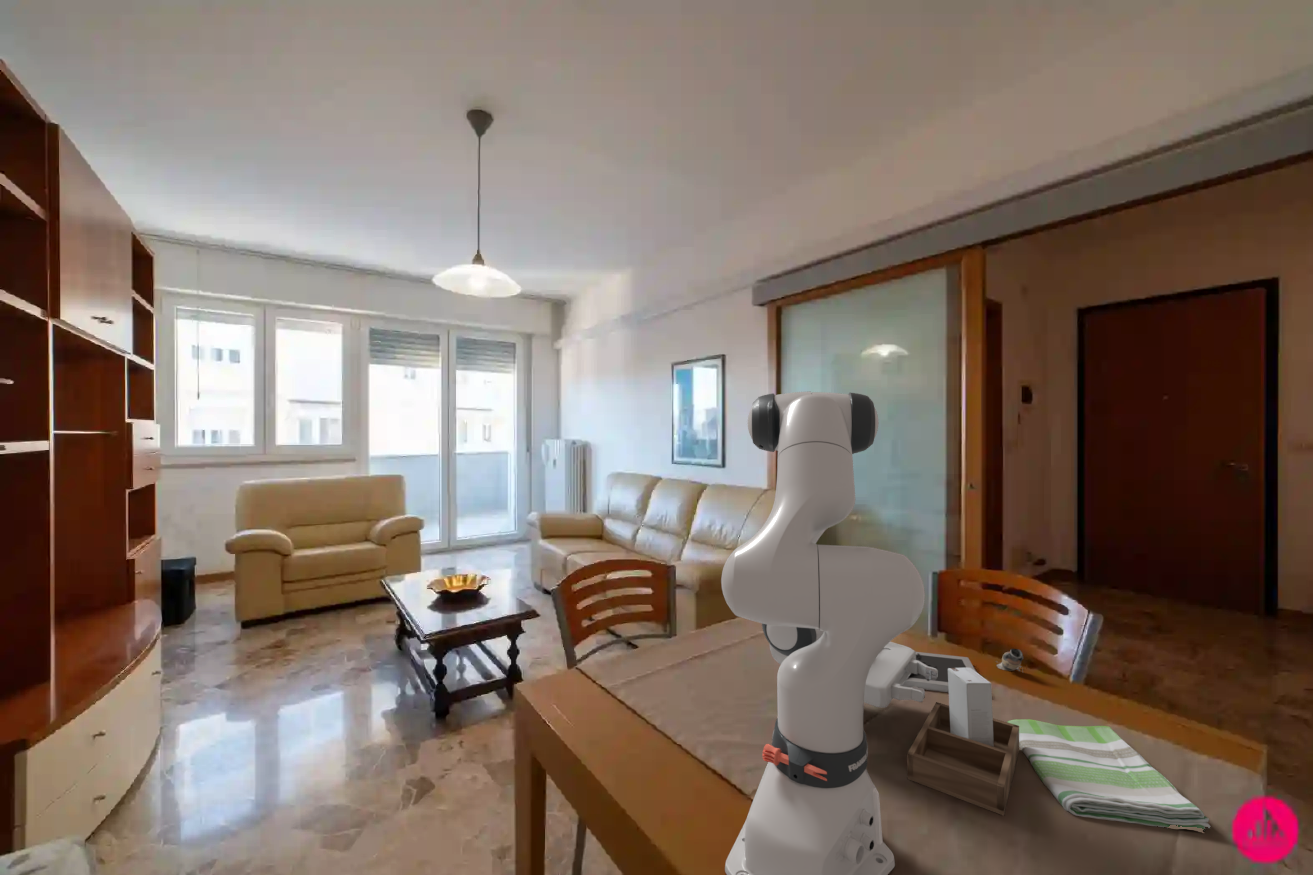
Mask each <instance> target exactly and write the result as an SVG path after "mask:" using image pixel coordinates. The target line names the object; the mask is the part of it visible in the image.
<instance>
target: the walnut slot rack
mask: <svg viewBox="0 0 1313 875" xmlns="http://www.w3.org/2000/svg"><path fill="white" fill-rule="evenodd" d="M993 739H994V747H993V746H990V745H987V744H984V743H980V742H977V741H974V740H971V739H968V738H965V737H961V736H958V735H955V734H952V733H950V711H949V704H945V703H941V702H938V701H936V702H935V703H934V705H933V707H932V709H931V710H930V713H929V714H928V716H927V718H926V720H925V721H924V722H923V725H922V727H921V729H920V730H919V732H918V733H917V735H916V737H915V739H914V740H913V742H912V744H911V746H910V748H909V749H908V751H907V753H906V756H907V757H906V759H907V760H906V764H907V770H906V771H907V774H906V776H907V777H906V778H907V780H909V781H912V782H914V783H918V784H919V785H922V786H925V787H928V788H930V789H933V790H935V791H938V792H940V793H943V794H946V795H948V796H950V797H953V798H956V799H959V800H962V801H964V802H967V803H970V804H972V805H975V806H977V807H980V808H982V809H985V810H988V811H991V812H992V813H995V814H997V815H1000V816H1005V813H1006V807H1007V804H1008V800H1009V795H1010V791H1011V786H1012V782H1013V778H1014V774H1015V769H1016V766H1017V761H1018V757H1019V754H1020V753H1019V752H1020V746H1019V726H1018V725H1015V724H1011V723H1008V722H1007V721H1004V720H1000V719H996V718H993Z"/></svg>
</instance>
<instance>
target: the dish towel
mask: <svg viewBox="0 0 1313 875" xmlns="http://www.w3.org/2000/svg"><path fill="white" fill-rule="evenodd" d="M1006 722H1008V723H1011V724H1015V725H1018V726H1019V749H1020V751H1021V752H1022V753H1023V754H1024V755H1025V757H1026V758H1027V760H1028V761H1029V762H1030V764H1031V766H1032V767H1033V770H1034V772H1035V773H1036V774H1037V775H1038V777H1039V779H1040V781H1041V782H1042V783H1043V784H1044V785H1045V786H1046V788H1047V789H1048V791H1050V792H1051V794H1052V795H1053V797H1054V798H1055V799H1056V800H1057V801H1058V802H1059V804H1060V806H1062V808H1063V809H1064V811H1065V812H1069V813H1070V814H1071V815H1074V816H1076V817H1078V816H1079V817H1084V818H1092V819H1097V820H1107V821H1114V822H1116V821H1117V822H1122V823H1129V824H1137V825H1143V826H1144V825H1145V826H1151V827H1157V826H1158V827H1159V828H1164V827H1169V826H1170V825H1176V826H1177V825H1178V827H1180V826H1182V827H1197V828H1202V829H1205V830H1206V828H1205V827H1208V828H1207V829H1211V828H1212V827H1211V825H1210V824H1209V823H1208V822H1209V821H1210V818H1209V817H1208V816H1205V814H1204V812H1203V811H1202V810H1201V809H1200V808H1199V807H1198V806H1197V805H1196V804H1194V803H1193V802H1191V801H1190V800H1189V799H1188V798H1186V797H1185V796H1183V794H1181V793H1180V792H1179V791H1178V789H1177V788H1176V787H1175V786H1174V785H1173V783H1172V782H1170V781H1169V779H1168V778H1166V777H1165V776H1164V775H1163V774H1162V773H1161V772H1160V771H1158V770H1157V769H1155V768H1154V767H1152V765H1151V764H1150V763H1149V762H1148V761H1147V760H1145V758H1144V757H1143V756H1142V754H1140V753H1139V752H1138V751H1137V750H1136V749H1135V748H1133V747H1131V746H1130V745H1129V744H1128V743H1127V742H1126V741H1125V740H1124V739H1123V738H1122V737H1121V736H1119V734H1118V733H1117V732H1116V731H1114V730H1113V729H1112V727H1111V726H1108V725H1091V726H1090V725H1089V726H1087V725H1086V726H1084V725H1083V726H1081V725H1059V724H1054V723H1049V722H1046V721H1045V722H1044V721H1040V720H1038V719H1037V720H1036V719H1030V718H1027V719H1024V718H1023V719H1012V720H1011V719H1010V720H1007V721H1006ZM1210 827H1211V828H1210Z"/></svg>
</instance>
